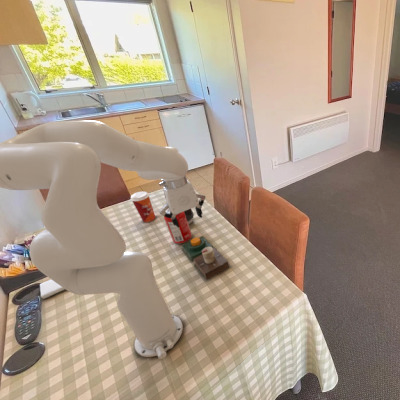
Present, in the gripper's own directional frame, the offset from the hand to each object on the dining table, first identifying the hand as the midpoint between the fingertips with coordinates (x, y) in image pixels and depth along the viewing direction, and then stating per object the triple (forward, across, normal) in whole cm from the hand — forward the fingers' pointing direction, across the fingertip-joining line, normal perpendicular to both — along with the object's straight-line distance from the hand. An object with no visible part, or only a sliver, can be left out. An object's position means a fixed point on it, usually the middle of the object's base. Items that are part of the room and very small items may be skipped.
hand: (188, 220), depth 104 cm
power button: (+12, 0, 0) cm, 12 cm away
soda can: (+15, -2, +12) cm, 20 cm away
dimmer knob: (+12, 0, -13) cm, 18 cm away
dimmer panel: (+15, 0, -13) cm, 20 cm away
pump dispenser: (+15, +3, +24) cm, 29 cm away
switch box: (+15, 0, 0) cm, 15 cm away
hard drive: (+14, -49, +17) cm, 54 cm away
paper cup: (+15, -8, +41) cm, 45 cm away
